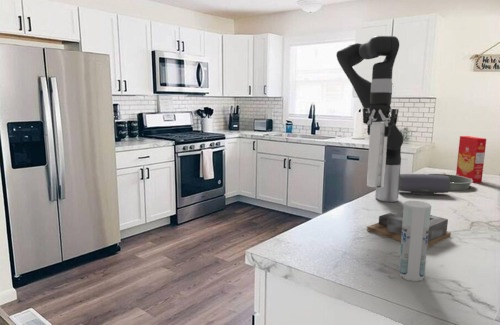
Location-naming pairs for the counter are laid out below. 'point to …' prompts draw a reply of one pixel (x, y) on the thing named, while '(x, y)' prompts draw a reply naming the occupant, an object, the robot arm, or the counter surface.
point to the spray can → (414, 239)
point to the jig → (393, 228)
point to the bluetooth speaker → (424, 183)
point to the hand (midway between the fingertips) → (378, 135)
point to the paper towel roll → (377, 155)
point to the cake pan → (458, 182)
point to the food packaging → (471, 158)
